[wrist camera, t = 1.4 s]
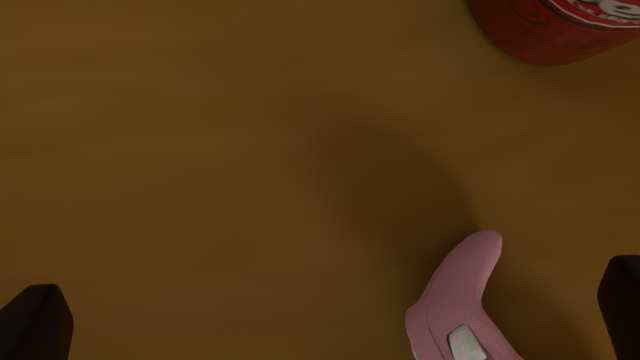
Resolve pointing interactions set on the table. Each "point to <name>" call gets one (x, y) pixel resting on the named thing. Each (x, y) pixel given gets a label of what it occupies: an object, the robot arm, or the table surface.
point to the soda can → (557, 27)
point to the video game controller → (459, 306)
